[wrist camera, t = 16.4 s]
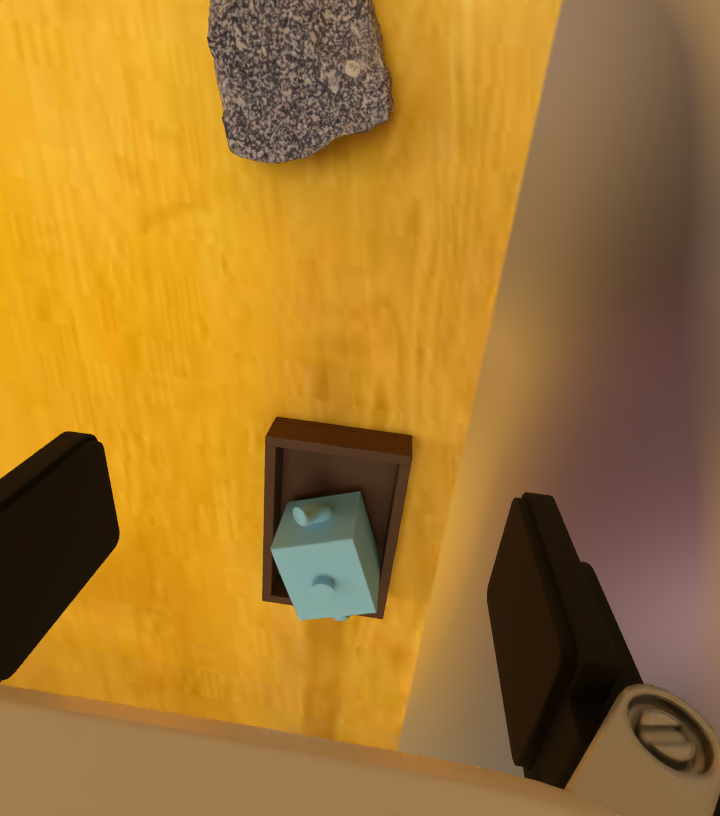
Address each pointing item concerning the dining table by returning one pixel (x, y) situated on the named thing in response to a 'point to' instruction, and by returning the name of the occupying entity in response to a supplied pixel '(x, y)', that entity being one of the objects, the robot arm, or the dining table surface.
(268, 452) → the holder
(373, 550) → the teapot
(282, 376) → the dining table surface
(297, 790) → the robot arm
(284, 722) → the dining table surface
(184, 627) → the dining table surface
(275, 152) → the rock
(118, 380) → the dining table surface
